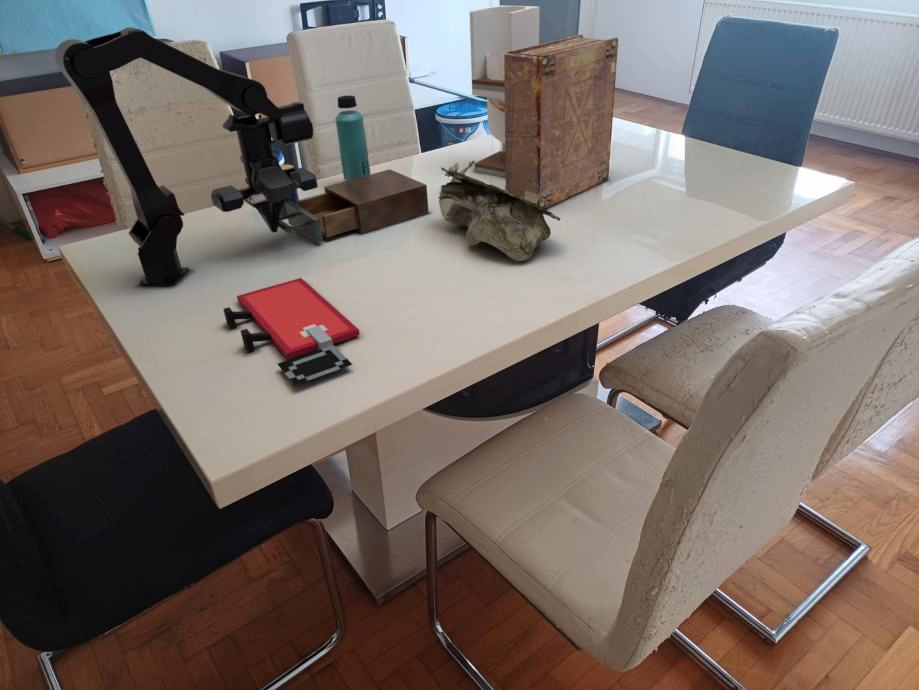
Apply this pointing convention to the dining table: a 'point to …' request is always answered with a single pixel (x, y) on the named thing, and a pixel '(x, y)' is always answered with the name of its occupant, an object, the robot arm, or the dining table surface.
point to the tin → (295, 194)
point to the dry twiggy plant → (460, 171)
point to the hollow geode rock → (494, 216)
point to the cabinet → (383, 199)
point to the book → (559, 117)
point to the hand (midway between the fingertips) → (274, 231)
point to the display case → (498, 64)
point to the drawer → (320, 216)
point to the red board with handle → (296, 328)
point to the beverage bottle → (352, 140)
